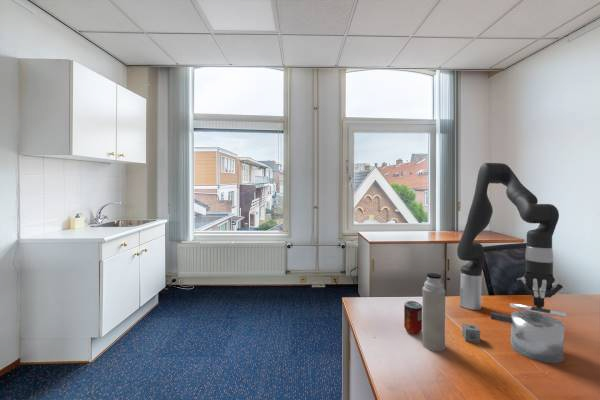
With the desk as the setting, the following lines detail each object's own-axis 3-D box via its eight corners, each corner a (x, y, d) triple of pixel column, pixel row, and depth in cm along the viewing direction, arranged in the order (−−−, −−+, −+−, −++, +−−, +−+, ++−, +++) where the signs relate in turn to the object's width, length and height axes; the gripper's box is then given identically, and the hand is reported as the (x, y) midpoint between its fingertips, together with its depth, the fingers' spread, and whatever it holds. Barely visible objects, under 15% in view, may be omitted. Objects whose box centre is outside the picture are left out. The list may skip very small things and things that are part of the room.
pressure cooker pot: (490, 348, 106) (491, 317, 106) (490, 330, 120) (490, 302, 120) (567, 368, 94) (568, 333, 94) (557, 345, 108) (558, 315, 108)
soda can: (424, 330, 120) (424, 302, 120) (418, 337, 115) (418, 308, 114) (407, 325, 125) (407, 298, 124) (401, 332, 119) (401, 303, 119)
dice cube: (479, 343, 110) (480, 330, 110) (465, 341, 112) (465, 329, 112) (475, 336, 115) (476, 325, 115) (462, 335, 116) (462, 323, 116)
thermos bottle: (421, 338, 114) (421, 270, 113) (443, 341, 111) (443, 272, 110) (423, 349, 106) (423, 276, 105) (446, 353, 104) (447, 278, 103)
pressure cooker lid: (511, 307, 101) (511, 303, 101) (508, 306, 115) (508, 302, 116) (572, 318, 92) (572, 313, 92) (560, 316, 106) (560, 312, 107)
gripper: (516, 258, 101) (516, 306, 101) (566, 263, 94) (566, 315, 94) (515, 255, 107) (514, 300, 108) (561, 259, 100) (561, 308, 100)
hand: (538, 307), depth 101 cm, fingers closed
